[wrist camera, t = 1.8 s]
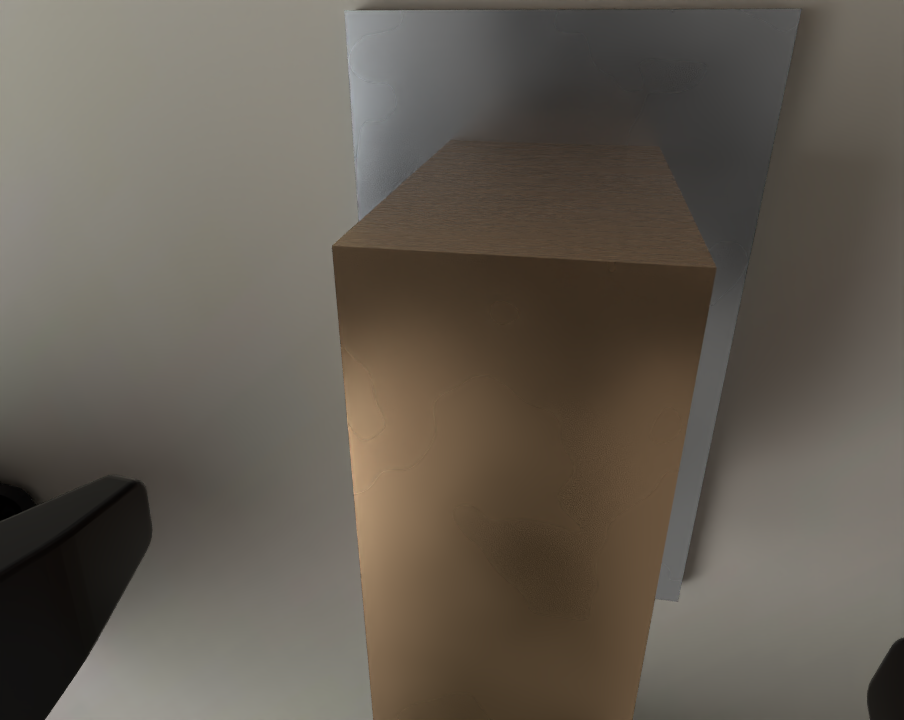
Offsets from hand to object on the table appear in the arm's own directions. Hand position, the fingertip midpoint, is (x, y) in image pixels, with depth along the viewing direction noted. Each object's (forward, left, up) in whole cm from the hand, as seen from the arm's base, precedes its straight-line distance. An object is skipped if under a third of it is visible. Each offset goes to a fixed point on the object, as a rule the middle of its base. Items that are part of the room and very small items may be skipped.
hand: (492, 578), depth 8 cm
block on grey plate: (0, 0, -7) cm, 7 cm away
